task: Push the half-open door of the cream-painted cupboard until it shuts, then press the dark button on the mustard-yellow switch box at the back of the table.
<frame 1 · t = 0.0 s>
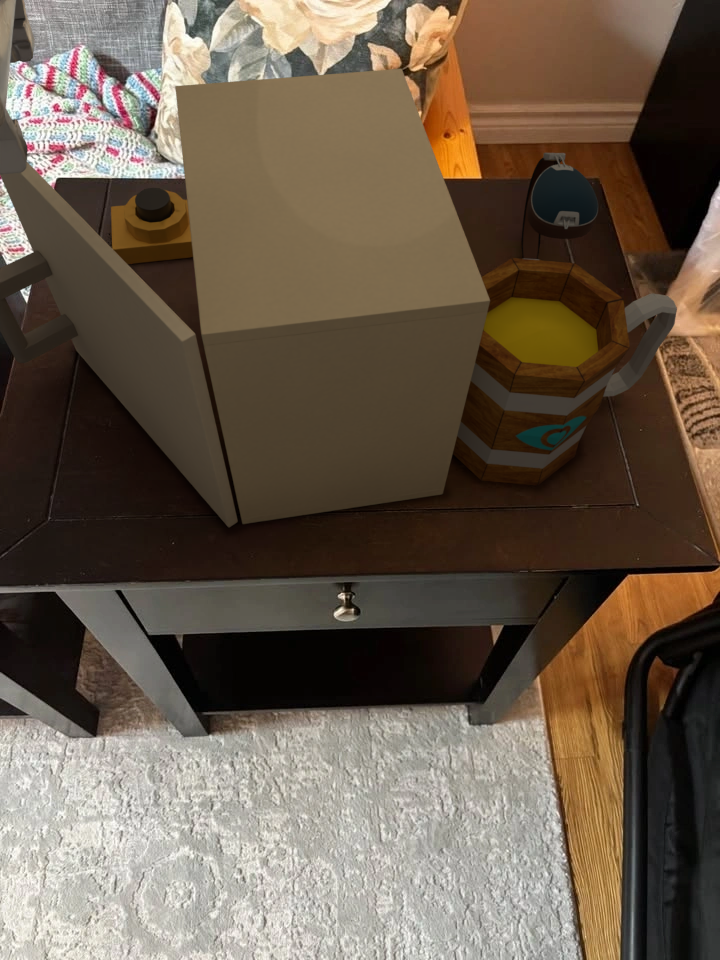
hand: (15, 106, 38), 35 cm above the table, tool pointing down, fingers open, 8 cm apart
switch box: (162, 238, 84), on the table
door: (88, 361, 59), point 12 cm above the table, hinge at 30.0°
cupboard: (320, 394, 73), on the table
headphones: (532, 306, 80), on the table, touching mug
button: (153, 205, 80), point 4 cm above the table, slide at 0.1 cm
mug: (537, 421, 72), on the table, touching headphones
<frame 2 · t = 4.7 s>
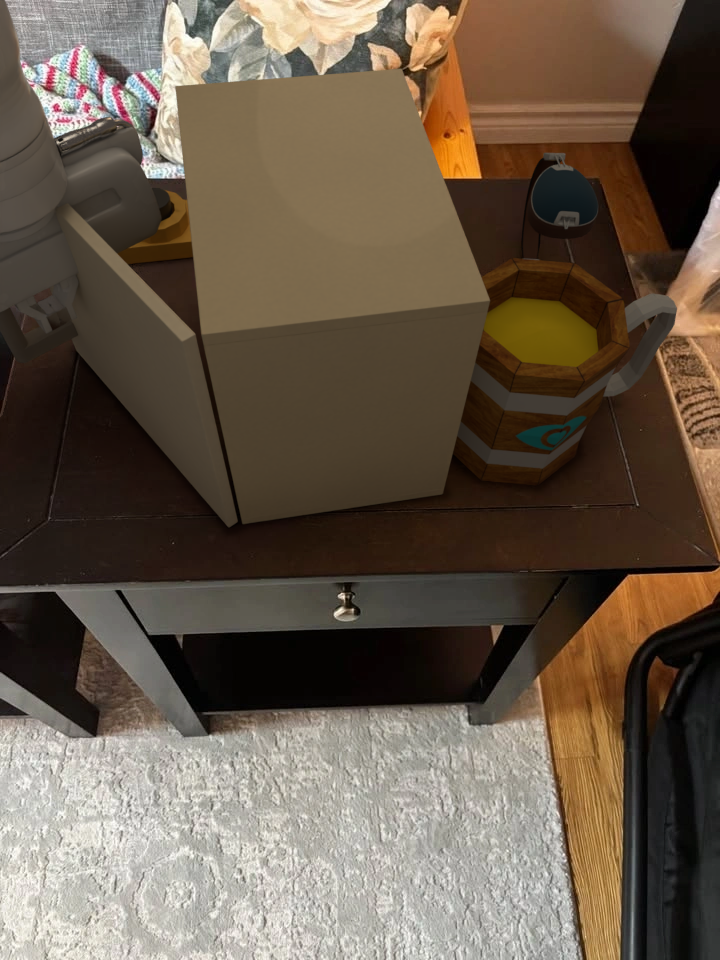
hand: (58, 321, 59), 13 cm above the table, tool pointing down, fingers closed
door: (88, 361, 59), point 12 cm above the table, hinge at 30.0°, touching gripper
everything else where it was.
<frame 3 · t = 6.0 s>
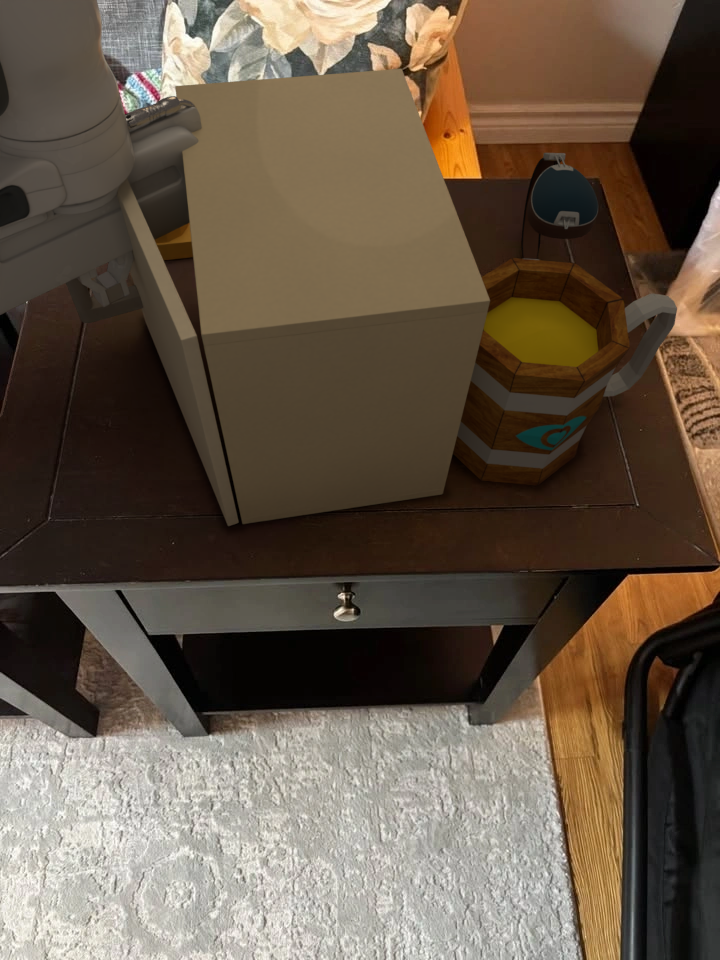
hand: (112, 296, 61), 13 cm above the table, tool pointing down, fingers closed
door: (129, 336, 60), point 12 cm above the table, hinge at 13.5°, touching gripper
everything else where it was.
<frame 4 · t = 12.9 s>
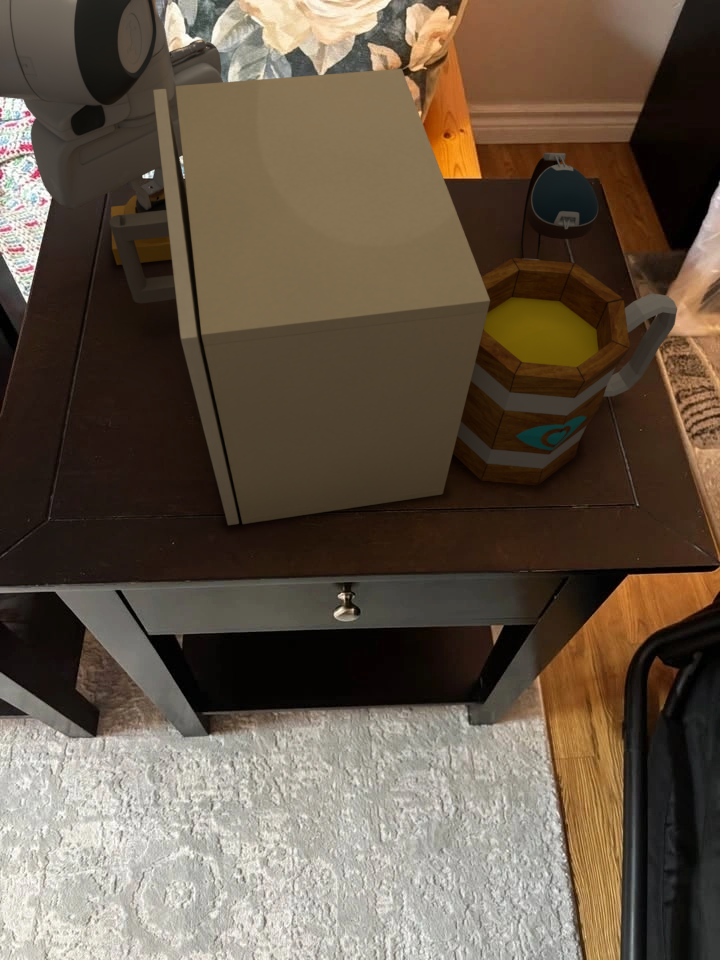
hand: (154, 201, 79), 5 cm above the table, tool pointing down, fingers closed, pressing on button
door: (162, 323, 61), point 12 cm above the table, hinge at 1.1°
button: (154, 208, 80), point 4 cm above the table, slide at -0.3 cm, touching gripper
everything else where it was.
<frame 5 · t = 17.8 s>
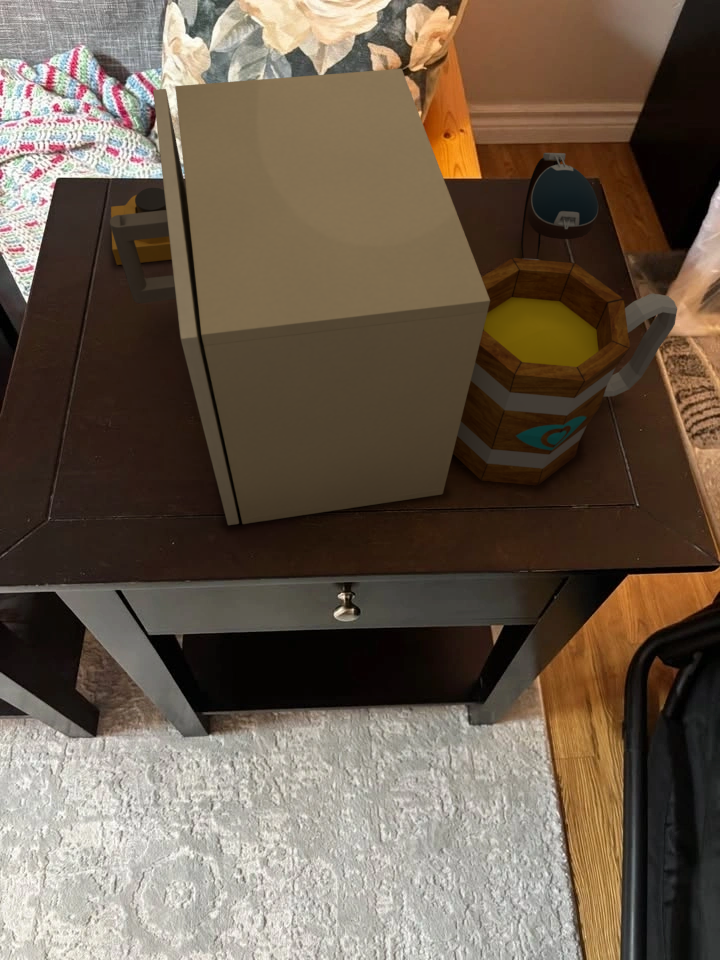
button: (153, 205, 80), point 4 cm above the table, slide at 0.1 cm
everything else where it was.
at the end: door at +1° (first picture: +30°); button pushed in 1.1 cm at the most during the clip, back to where it started at the end; button slide at 0.1 cm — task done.
